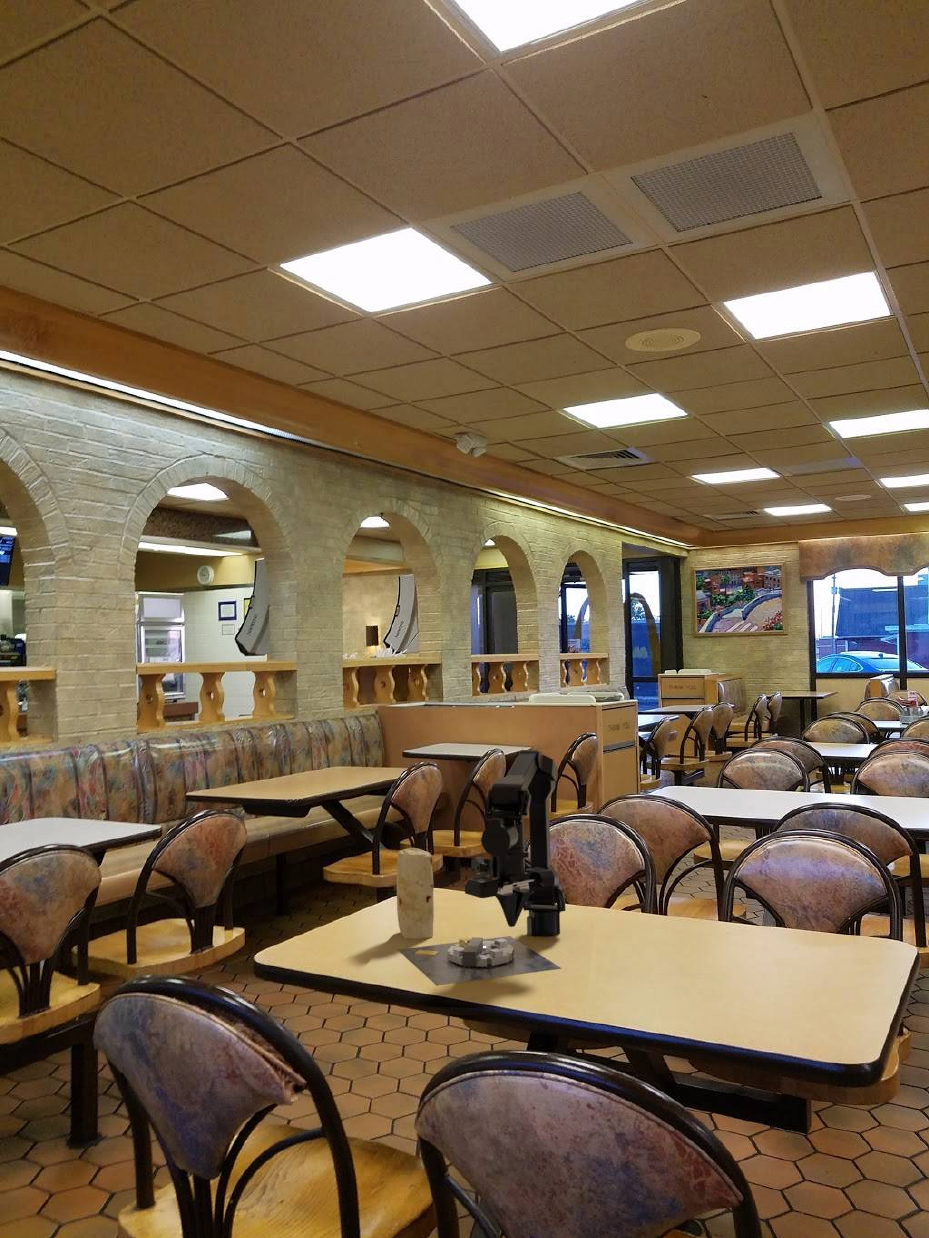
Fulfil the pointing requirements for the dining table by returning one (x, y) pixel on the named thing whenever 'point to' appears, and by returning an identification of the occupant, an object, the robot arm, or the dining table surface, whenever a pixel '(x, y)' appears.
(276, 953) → the dining table surface
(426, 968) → the cap plate
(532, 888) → the robot arm
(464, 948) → the grey ring frame
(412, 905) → the food model
